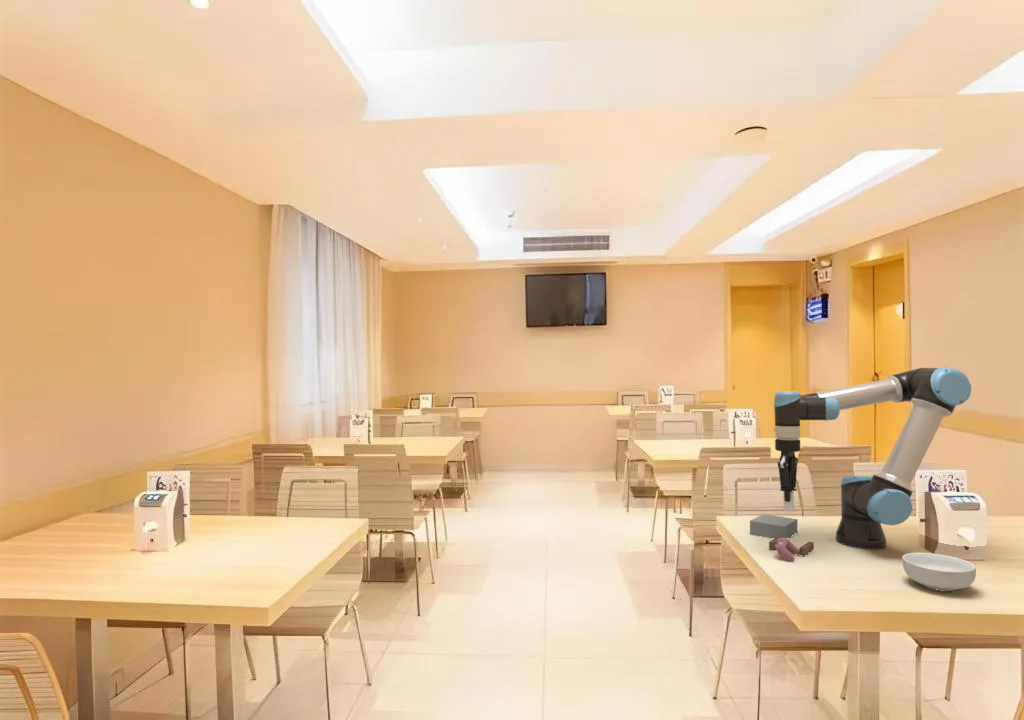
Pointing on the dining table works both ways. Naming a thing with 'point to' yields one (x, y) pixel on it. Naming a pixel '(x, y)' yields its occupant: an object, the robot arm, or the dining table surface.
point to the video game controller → (786, 549)
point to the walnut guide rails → (803, 549)
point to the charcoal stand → (773, 526)
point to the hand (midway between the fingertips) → (788, 510)
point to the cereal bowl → (939, 571)
